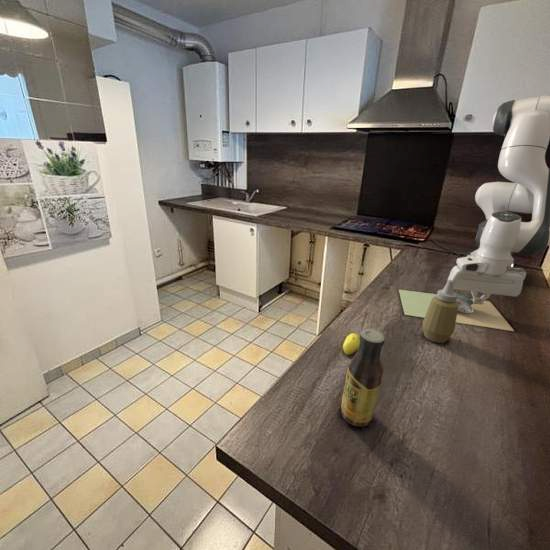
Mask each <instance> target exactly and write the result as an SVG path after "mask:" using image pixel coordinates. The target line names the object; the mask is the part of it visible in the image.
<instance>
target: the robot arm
mask: <svg viewBox="0 0 550 550" xmlns="http://www.w3.org/2000/svg"><path fill="white" fill-rule="evenodd" d="M491 125H492V131H493V132H494V133H495V134H496V135H498V136H501V137H504V140H503V142H502V146H501V148H500V149H501V150H500V152H499V157H498V161H497V169H498V172H499V174H500V175H502V177H504V178H505V179H506V180H508V181H510V182H508V181H507V182H506V181H492V182H484V183H483V184H482V185H480V186H479V187H478V188H477V190H476V192H475V195H474V200H475V204H476V205H477V206H478V207H479V208H480V209H481V210H482V212H483V213H484V214H483V215H484V216H485V220H483V221H482V222H480V223H479V224H478V229H477V232H476V236H475V238H474V241H475V242H476V244H477V245H478V247H477V248H476V249H475V250H474V251H466V252H465V254H464V255H463V256H461V254H460V253H459V252H456V251H455V250H452V249H450V248H448V247H446V246H444V245H442V244H441V243H439V242H438V241H436V239H434V238H433V237H431V238H432V239H433V240H432V239H431V238H429V240H430V241H431V240H432V242H433V243H435V244H436V245H437V246H439V247H440V248H443V249H445V250H446V251H449V252H451V253H453V254H456V255H457V256H458V258H456V260H455V261H456V265H455V266H453V267H452V268H451V269H450V272H449V274H448V277H447V282H448V280H453V290H457V291H458V290H459V291H465V292H470V293H471V296H472V298H471V299H472V303H473V304H481V305H483V302H484V301H487V300H488V298H490V296H491V295H498V296H506V297H513V298H514V297H518V296H520V295H521V293H522V290H523V284H524V281H525V279H526V276H527V271H526V270H525V269H524V268H522V267H514V260H515V259H514V257H513V256H512V255H513V254H514V253H517V254H519V255H524V256H528V257H531V256H535V255H538V254H540V253H543V252H544V251H546V249H547V248H548V246H549V244H550V167H548V165H547V162H546V152H547V150H548V146H549V143H550V94H548V95H547V94H546V95H540V96H535V97H526V98H522V99H517V100H515V99H512V100H508V101H505V102H502V104H500V106H498V107H497V110H496V111H495V113H494V115H493V117H492V121H491ZM517 213H520V214H528V215H529V214H531V220H530V221H528V222H527V221H522V216H520V215H519V214H517ZM447 282H446V283H447ZM479 293H482V295H481V296H480V297H477V296H478V295H479Z"/></svg>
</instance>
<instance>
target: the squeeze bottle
mask: <svg viewBox="0 0 550 550" xmlns="http://www.w3.org/2000/svg"><path fill="white" fill-rule="evenodd" d="M447 280H448V279H447ZM436 294H437V296H435V297H433V298H432V300H431V302H430V305H429V307H428V310H427V312H426V315H425V318H423V320H422V323H421V324H422V331H423V335H424V337H425V338H426V339H427V340H428V341H431V342H433V343H437V344H444V343H446V342H447V341H448V340H449V339H450V338H451V336H452V335H453V334H454V333H455V329H456V328H455V326H456V317H457V311H458V303H457V302H456V298H457V294H458V293H456V292H455V291H454V289H453V280H448V282H446V284H445V285H444V287H443V288H442V289H439V290H437V293H436Z"/></svg>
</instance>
